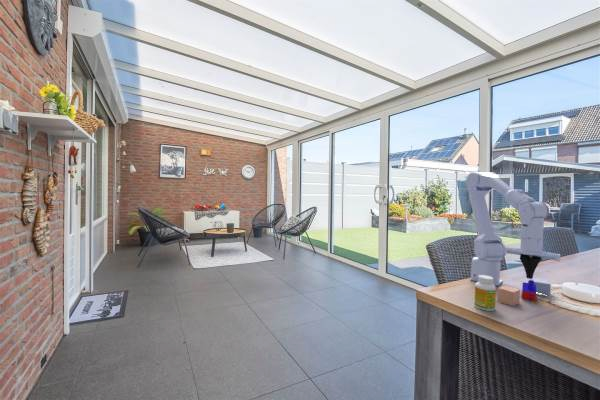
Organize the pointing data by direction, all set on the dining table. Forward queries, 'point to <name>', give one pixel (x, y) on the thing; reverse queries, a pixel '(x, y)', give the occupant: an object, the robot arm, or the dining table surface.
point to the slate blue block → (542, 286)
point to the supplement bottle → (485, 293)
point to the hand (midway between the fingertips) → (529, 277)
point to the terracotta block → (508, 295)
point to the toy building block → (529, 290)
